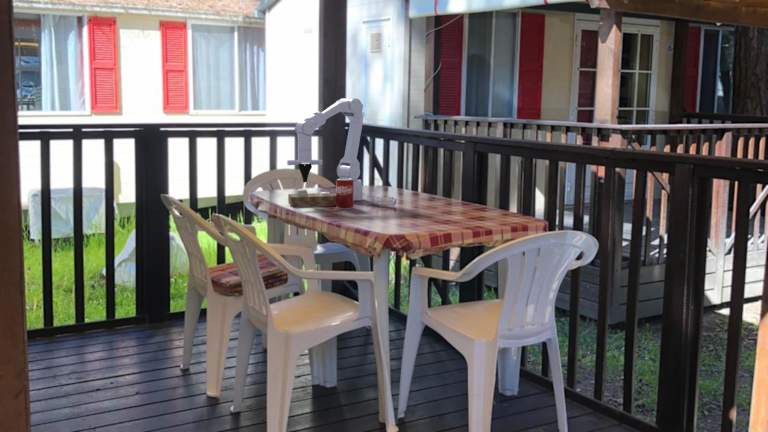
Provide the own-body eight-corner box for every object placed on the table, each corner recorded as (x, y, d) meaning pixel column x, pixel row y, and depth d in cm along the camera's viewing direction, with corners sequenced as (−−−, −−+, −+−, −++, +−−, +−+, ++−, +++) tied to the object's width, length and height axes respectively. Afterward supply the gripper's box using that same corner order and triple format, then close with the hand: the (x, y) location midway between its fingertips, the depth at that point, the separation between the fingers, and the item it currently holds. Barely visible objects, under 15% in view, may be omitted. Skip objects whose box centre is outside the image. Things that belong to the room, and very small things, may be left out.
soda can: (351, 209, 335) (351, 180, 333) (334, 209, 336) (334, 180, 334) (355, 207, 342) (355, 178, 340) (338, 206, 343) (338, 177, 341)
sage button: (306, 198, 350) (306, 189, 350) (307, 199, 346) (307, 190, 345) (295, 198, 349) (295, 189, 348) (297, 199, 345) (297, 190, 344)
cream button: (329, 200, 353) (329, 191, 352) (331, 202, 348) (331, 193, 348) (319, 200, 352) (319, 192, 351) (320, 202, 347) (320, 193, 347)
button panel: (334, 202, 356) (334, 192, 356) (339, 205, 347) (339, 195, 346) (288, 203, 352) (288, 194, 351) (291, 206, 342) (291, 197, 341)
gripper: (320, 148, 350) (320, 180, 352) (286, 149, 347) (286, 181, 349) (323, 150, 343) (323, 182, 345) (288, 150, 340) (288, 183, 342)
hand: (304, 182), depth 347 cm, fingers closed
